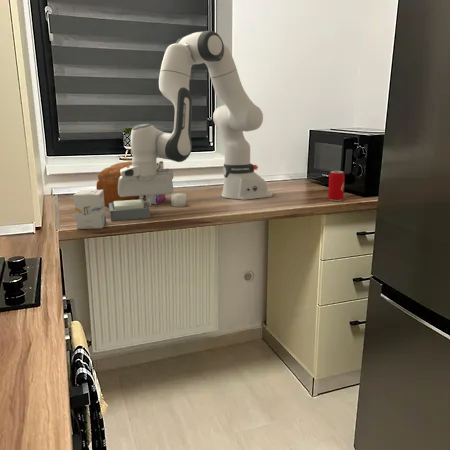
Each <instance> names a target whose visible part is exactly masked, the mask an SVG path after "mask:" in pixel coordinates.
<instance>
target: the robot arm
mask: <svg viewBox="0 0 450 450" xmlns="http://www.w3.org/2000/svg"><path fill="white" fill-rule="evenodd" d="M201 64H205V66H206V67H207V71H208V74H209V77H210V80H211V83H212V86H213V89H214V93H215V95H216V97H217V98H218V99H220V100H221V101H222V102H223V104H222V105H219V106H218V107H216V108H215V109H214V112H213V115H212V120H213V123H214V124H215V126H216V127H217V128H218V130H219V133H220V135H221V139H222V142H223V149H224V151H223V152H224V163H223V168H222V170H223V171H222V172H223V179H224V180H223V187H222V192H221V197H222V198H225V199H235V200H241V201H242V200H243V201H245V200H246V201H247V200H253V199H260V198H261V199H263V198H271V197H273V196H274V195H273V192H272V191H270V190H268V185H267V181H266V180H265V179H264V178H262V177H261V176H260V175H259V174H257V173H256V172H255V171H257V170H258V169H259V166H258V165H257V164H253V163H251V145H250V143H249V142H248V141H247V140H246V138H245V135H244V132H252V131H256V130H258V129H260V128H261V126H262V124H263V121H264V113H263V111H262V110H261V108H260V107H259V106H258V105H256V104H255V103H254V102H253V101H252V100H251V99H250V97H249V95H248V94H247V93H246V91H245V89H244V87H243V85H242V82H241V78H240V76H239V72H238V69H237V66H236V63H235V61H234V57H233V55H232V53H231V51H230V50H229V47H228V45H226V44H225V43H224V42H223V39H222V37H221V36H220V34H218V33H217V32H216V31H215V30H214V31H213V30H204V31H196V32H192V33H190V34H187V35H183V36H181V37H180V38H178V39H177V40H176V42H175V43H172V44H169V45H168V46H167V48H166V50H165V51H164V55H163V59H162V61H161V65H160V70H159V76H158V89H159V91H160V93H161V94H162V96H163V97H164V98H166V99H167V100H168V101H170V102H171V104H173V107H174V121H173V122H174V123H173V130H172V132H164V131H162V130H160V129H158V128H156V127H155V126H154V125H153V124H151V123H141V124H137V125H135V126H133V127H132V129H131V132H130V151H131V153H132V159H131V162H132V165H130V166H128V167H125V168H122V169H121V170H120V174H121V176H120V177H119V180H118V195H119V196H120V197H125V196H139V200H141V201H142V203H143V207H146V208H150V207H152V204H151V201H152V199H153V195H156V194H165V195H169V194H170V195H171V194H173V192H174V183H173V179H174V172H173V170H171V169H170V168H164V169H157V161H158V160H157V159H158V158H159V159H163V160H170V161H173V162H177V163H182V162H184V161H187V159H188V158H189V156H190V155H191V152H192V146H193V145H192V136H191V130H192V128H191V127H192V113H193V111H192V109H193V106H192V105H193V97H192V94H191V92H190V80H191V79H190V78H191V74H192V73H191V71H192V67H193V66H194V65H201ZM143 195H145V196H146V195H149V197H150V199H149V201H147V202H146V201H145V200H144V196H143ZM144 201H145V202H144Z"/></svg>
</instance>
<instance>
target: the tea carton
mask: <svg viewBox="0 0 450 450" xmlns="http://www.w3.org/2000/svg"><path fill="white" fill-rule="evenodd" d="M137 208H143V203H142V201H141V200H140V199H137V200H125V201H114V210H124V209H137Z"/></svg>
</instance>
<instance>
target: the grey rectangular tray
mask: <svg viewBox="0 0 450 450" xmlns="http://www.w3.org/2000/svg"><path fill="white" fill-rule="evenodd" d="M143 201H144V202H146V200H143ZM150 210H151V209H150V207H143V208H137V209H124V210H114V203H109V206H108V211H109V217H110V221H111V222H113V221H114V222H115V221H126V220H128V219H129V220H139V218H142V219H148V218H147V217H150V218H151V211H150Z"/></svg>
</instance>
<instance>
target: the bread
mask: <svg viewBox="0 0 450 450" xmlns="http://www.w3.org/2000/svg"><path fill="white" fill-rule="evenodd" d="M130 165H132V160H131V161H123V162H118V163H116V164H112V165H110V166H109V167H105V168H104V169H102V170H101V171H100V173H99V174H98V175H97V179H98V180H97V182H96V190H103V193H104V204H105V207H106V206H107V207H109V203H114V201H125V200H140V198H139V196H125V197H120V196H119V195H118V180H119V177H120V176H121V174H120V170H121V169H122V168H125V167H128V166H130ZM143 197H146V195H143Z"/></svg>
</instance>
